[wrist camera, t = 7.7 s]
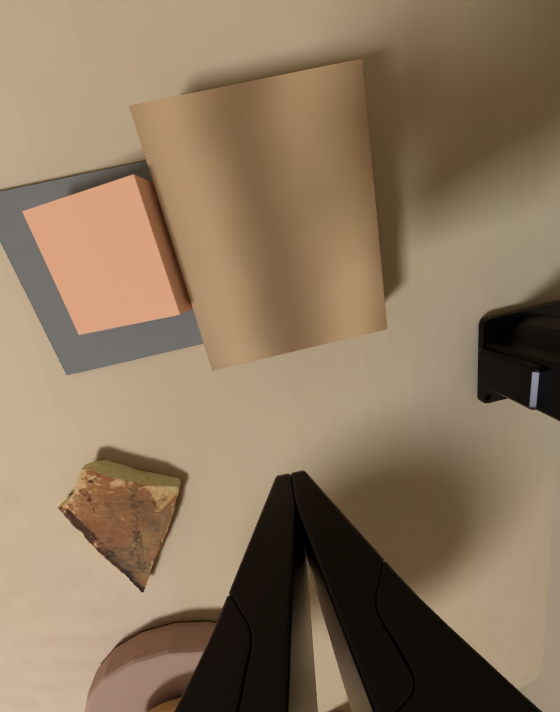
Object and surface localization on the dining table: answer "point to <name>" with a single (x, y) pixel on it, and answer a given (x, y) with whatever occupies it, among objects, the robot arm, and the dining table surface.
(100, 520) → the shard
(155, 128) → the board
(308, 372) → the dining table surface
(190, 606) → the dining table surface
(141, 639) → the hourglass
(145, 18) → the dining table surface
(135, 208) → the pink square block
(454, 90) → the dining table surface
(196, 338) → the mat
